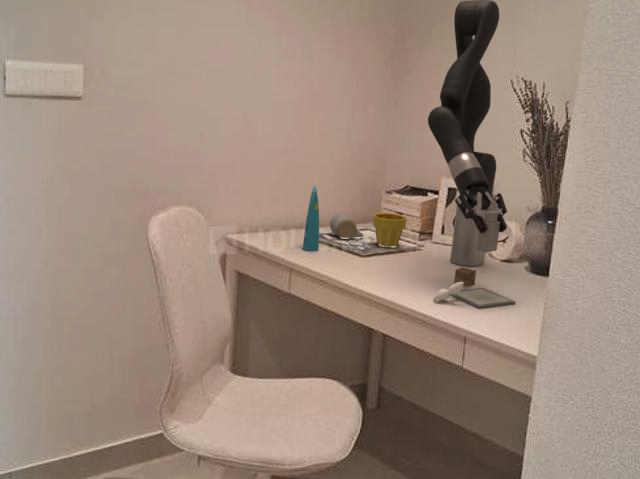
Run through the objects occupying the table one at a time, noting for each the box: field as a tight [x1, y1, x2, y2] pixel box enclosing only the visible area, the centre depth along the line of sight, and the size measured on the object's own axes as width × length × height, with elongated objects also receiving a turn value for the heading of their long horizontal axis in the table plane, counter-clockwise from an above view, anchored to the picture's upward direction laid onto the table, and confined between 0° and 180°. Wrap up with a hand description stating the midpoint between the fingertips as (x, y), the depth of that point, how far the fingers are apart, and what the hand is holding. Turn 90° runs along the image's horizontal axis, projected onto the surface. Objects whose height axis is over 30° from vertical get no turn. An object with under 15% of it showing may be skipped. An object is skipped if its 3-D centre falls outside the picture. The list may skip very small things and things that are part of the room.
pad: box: [449, 287, 516, 310], centre depth 179 cm, size 12×12×1 cm
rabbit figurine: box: [432, 282, 464, 303], centre depth 175 cm, size 6×4×8 cm
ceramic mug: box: [329, 212, 364, 238], centre depth 236 cm, size 11×8×8 cm
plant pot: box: [372, 212, 407, 247], centre depth 228 cm, size 10×10×10 cm
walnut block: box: [453, 266, 477, 288], centre depth 192 cm, size 4×4×4 cm
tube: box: [302, 185, 320, 252], centre depth 215 cm, size 7×5×19 cm, turn 13°
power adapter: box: [476, 202, 501, 253], centre depth 175 cm, size 3×5×12 cm, turn 134°
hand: (494, 230), depth 174 cm, fingers closed on power adapter, 5 cm apart
